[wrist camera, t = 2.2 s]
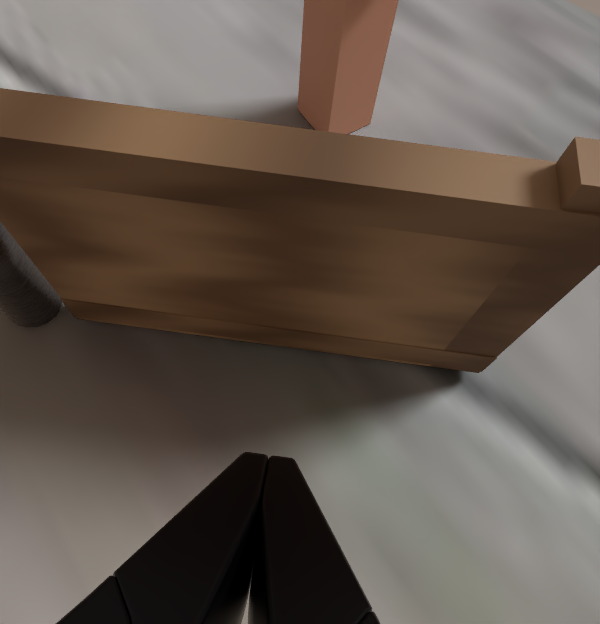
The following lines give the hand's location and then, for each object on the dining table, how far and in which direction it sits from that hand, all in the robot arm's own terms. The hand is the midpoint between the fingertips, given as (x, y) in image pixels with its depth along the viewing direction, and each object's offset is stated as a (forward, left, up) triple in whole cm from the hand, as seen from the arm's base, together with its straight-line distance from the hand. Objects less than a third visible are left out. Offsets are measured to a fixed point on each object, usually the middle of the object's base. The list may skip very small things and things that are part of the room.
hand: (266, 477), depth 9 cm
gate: (+4, +5, -9) cm, 11 cm away
